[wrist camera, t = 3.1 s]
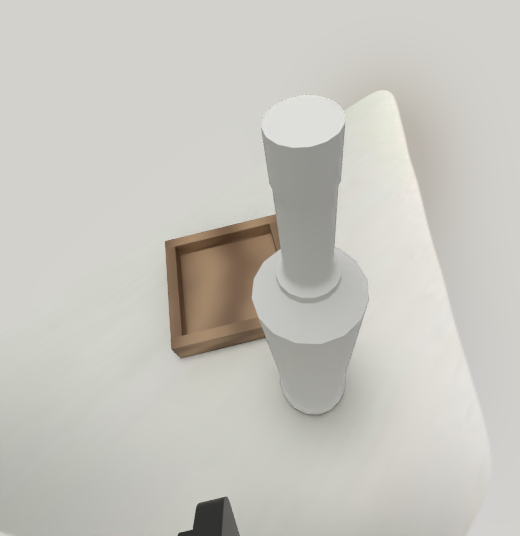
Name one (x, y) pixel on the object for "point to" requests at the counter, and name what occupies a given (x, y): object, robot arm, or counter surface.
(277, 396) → the counter surface
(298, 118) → the bottle
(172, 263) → the walnut tray
